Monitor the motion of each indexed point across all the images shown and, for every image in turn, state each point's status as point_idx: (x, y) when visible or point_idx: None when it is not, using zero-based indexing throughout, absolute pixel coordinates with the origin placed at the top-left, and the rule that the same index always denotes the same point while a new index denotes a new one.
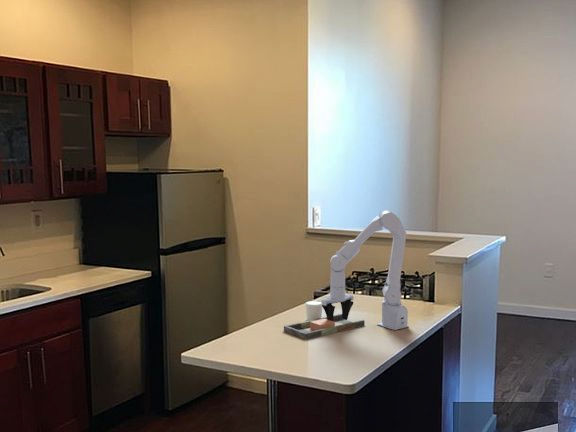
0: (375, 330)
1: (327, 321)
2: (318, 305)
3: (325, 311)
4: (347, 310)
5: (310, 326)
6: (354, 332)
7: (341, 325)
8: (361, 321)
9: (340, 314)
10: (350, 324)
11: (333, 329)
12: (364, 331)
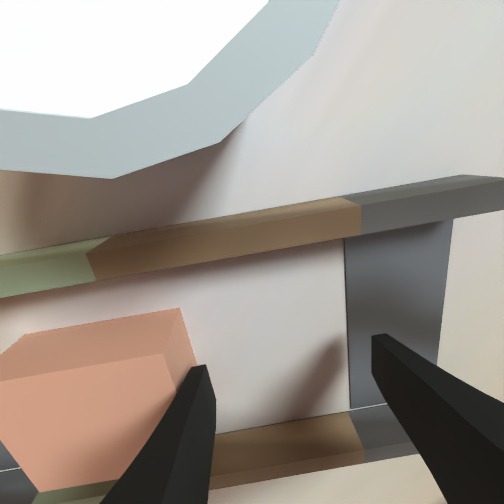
0: (403, 489)
1: (146, 437)
2: (102, 173)
3: (118, 495)
4: (440, 487)
5: (7, 354)
6: (282, 483)
7: (231, 484)
8: None
9: (468, 206)
10: (317, 463)
11: None
12: (342, 485)
